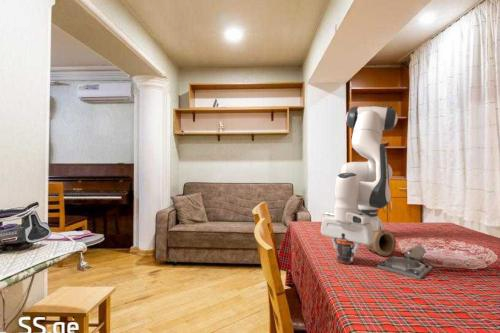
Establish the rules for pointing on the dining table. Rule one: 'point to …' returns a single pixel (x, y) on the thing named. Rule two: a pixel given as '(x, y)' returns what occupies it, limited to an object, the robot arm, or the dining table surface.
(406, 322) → the dining table surface
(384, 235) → the clay pipe
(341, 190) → the robot arm
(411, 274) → the flange seat
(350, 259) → the supplement bottle
